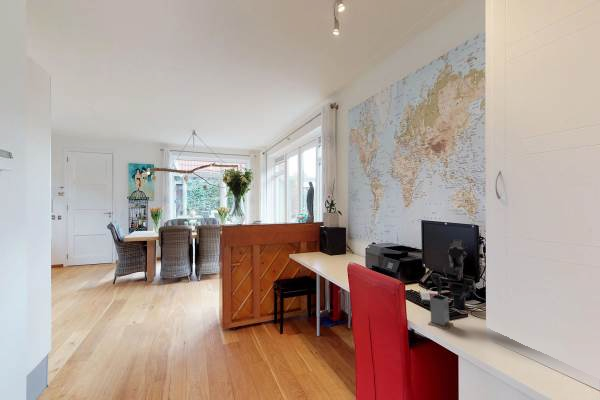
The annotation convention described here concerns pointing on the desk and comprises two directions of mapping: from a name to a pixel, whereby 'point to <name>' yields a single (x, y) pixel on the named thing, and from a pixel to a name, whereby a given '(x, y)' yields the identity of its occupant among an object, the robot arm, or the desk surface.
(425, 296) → the calculator
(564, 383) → the desk surface
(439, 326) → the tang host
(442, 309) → the socket sleeve
